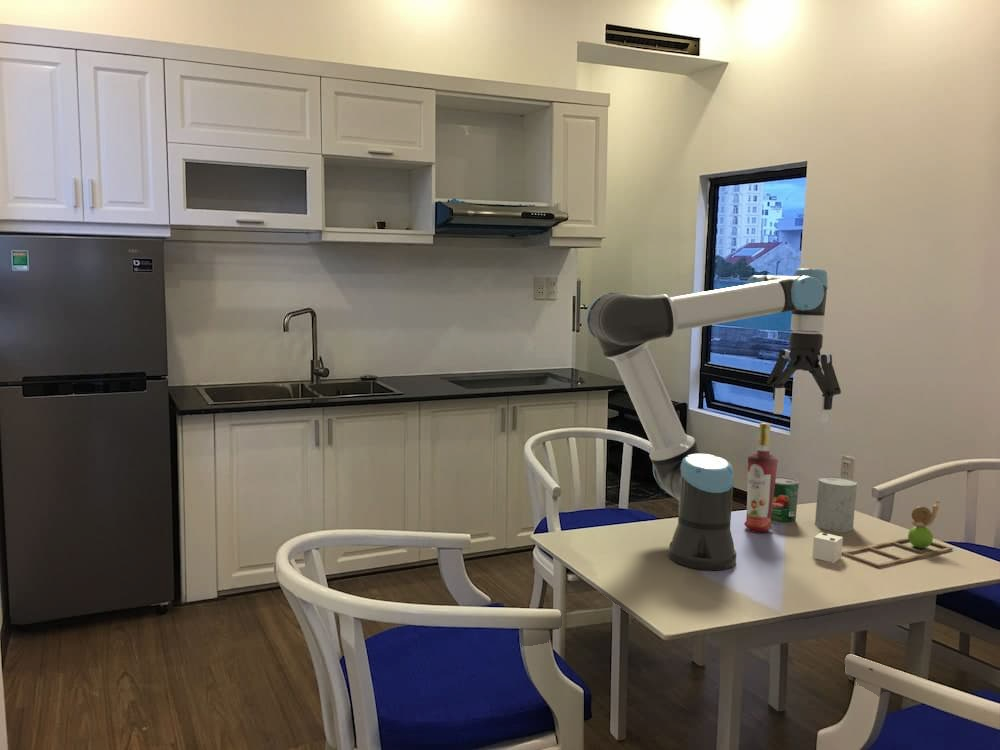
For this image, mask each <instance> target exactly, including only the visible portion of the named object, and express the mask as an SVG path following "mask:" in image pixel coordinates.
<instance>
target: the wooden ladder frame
mask: <svg viewBox="0 0 1000 750" xmlns="http://www.w3.org/2000/svg"><path fill="white" fill-rule="evenodd" d="M907 542H910V541H909V539H908V537H904V538H900V539H896V540H891V541H886V542H883V543H876V544H873V545H872V544H871V545H867V546H864V547H863V546H861V547H859V548H854V549H850V550H845V551H842V555H841V556H844V557H845V558H849V559H852V560H855V561H858V562H860V563H863V564H866V565H868V566H871V567H873V568H877V569H881V568H887V567H890V566H893V565H894V564H895V565H899V564H903V563H906V561H907V562H910V561H911V562H912V561H914V560H915V561H916V560H919V559H922V558H928V557H930V556H931V557H932V556H937V555H939V554H940V555H941V554H943V553H947V552H953V550H954V549H953V547H950V546H947V545H944V544H940V543H938V542H934V541H932V543H931V544H930V545H929V546H933V547H936V548H939V549H935V550H932V551H928V552H926V551H923V550H920V549H917V548H915V547H911V546H907V545H904V544H903V543H907ZM889 546H895V547H897V548H900V549H904V550H907V551H910V552H913V553H917V554H915V555H910V556H906V557H900V556H898V555H894V554H891V553H888V552H886V551H883V550H880V549H879V548H886V547H889ZM865 551H870V552H872V553H876V554H878V555H882V556H885V557H887V558H890V559H893V560H890V561H887V562H886V561H885V562H882V563H875V562H873V561H871V560H867V559H865V558H861V557H859V556H856V555H854V554H857V553H862V552H865ZM902 562H903V563H902ZM898 563H899V564H898Z"/></svg>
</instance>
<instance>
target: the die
mask: <svg viewBox="0 0 1000 750" xmlns="http://www.w3.org/2000/svg"><path fill="white" fill-rule="evenodd" d="M843 539H844V536H841V535H840V536H838V535H836V534H831V533H827V532H823V531H822V532H820V533H818V534H816V535H815V536H814V537H813V542H812V543H813V546H812V555H811V556H812V558H813V559H815V560H820V561H825V562H828V563H833V564H835V563H837V561H840V559H842V556H843V555H842V552H843V543H844V540H843Z"/></svg>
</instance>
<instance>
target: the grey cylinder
mask: <svg viewBox="0 0 1000 750" xmlns="http://www.w3.org/2000/svg"><path fill="white" fill-rule="evenodd" d="M817 480H818V483H817V494H816V496H817V497H816V506H815V507H816V508H815V517H814V525H815V526H816V527H817V528H820V529H822V530H823V529H824V530H826V531H831V532H839V533H846V532H852V531H853V530H854V521H855V510H856V498H857V485H858V482H857V481H855V480H853V479H850V478H845V477H839V476H838V477H837V476H820V477H819V478H818V479H817Z"/></svg>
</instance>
